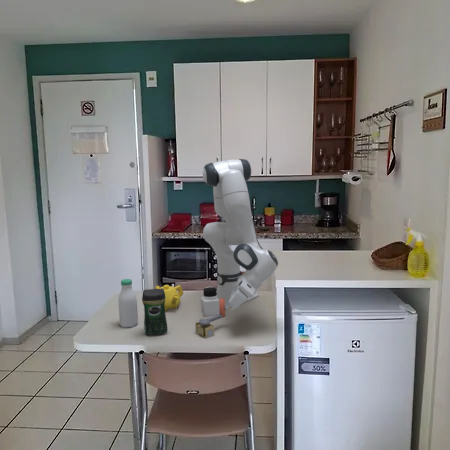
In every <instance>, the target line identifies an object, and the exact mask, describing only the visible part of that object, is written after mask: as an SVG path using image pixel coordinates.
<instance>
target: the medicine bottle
mask: <svg viewBox="0 0 450 450" xmlns="http://www.w3.org/2000/svg"><path fill="white" fill-rule="evenodd" d="M200 305H201V313H202V314H203V316H205V317H213V316H215V315H218V314H219V299H218V297H217V288H216V287H214V286H206V287H204V288H203V296H201V297H200Z"/></svg>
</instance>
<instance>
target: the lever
mask: <svg viewBox="0 0 450 450" xmlns="http://www.w3.org/2000/svg"><path fill="white" fill-rule="evenodd" d="M225 304H226V303H225V299H224V298H220V299H219V314H218V315H212V316H209V317H208V318H201V319H199V320H198V322H199V324H200V325H202V326H206V325H209V324H211V323H212V322H215V321H218V320H221V319H222V318H223V319H224V318H225V317H226V308H225Z"/></svg>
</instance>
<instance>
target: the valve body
mask: <svg viewBox="0 0 450 450" xmlns="http://www.w3.org/2000/svg"><path fill="white" fill-rule="evenodd" d="M194 324H195V333H196V334H197V335H199V336H201V337H202V338H206V339H207V338H211V337H213V336H215V325H214V324H211V323H210V324H209V325H206V326H202V325H200V324H199V321H195V323H194Z"/></svg>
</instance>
